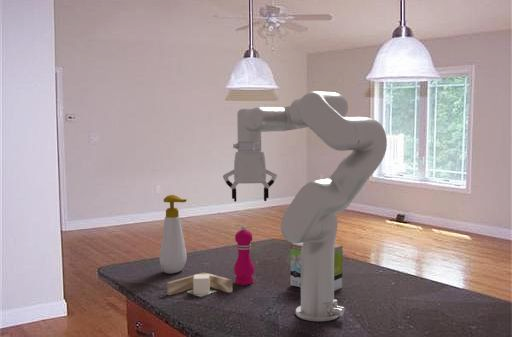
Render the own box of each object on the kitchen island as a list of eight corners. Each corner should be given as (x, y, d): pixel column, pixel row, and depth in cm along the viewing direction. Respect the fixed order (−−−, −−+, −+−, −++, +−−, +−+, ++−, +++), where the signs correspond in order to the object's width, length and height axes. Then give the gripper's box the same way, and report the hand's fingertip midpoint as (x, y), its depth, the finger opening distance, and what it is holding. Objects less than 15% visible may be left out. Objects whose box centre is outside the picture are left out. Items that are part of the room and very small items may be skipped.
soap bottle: (177, 278, 194) (175, 197, 192) (154, 274, 199) (151, 196, 196) (196, 269, 205) (195, 193, 203) (174, 266, 210) (172, 192, 208)
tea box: (289, 286, 183) (289, 243, 182) (307, 279, 190) (307, 238, 189) (325, 295, 173) (325, 249, 171) (343, 288, 180) (343, 244, 179)
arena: (232, 291, 177) (232, 279, 177) (195, 303, 166) (195, 291, 165) (204, 283, 187) (203, 272, 186) (167, 294, 175) (166, 282, 175)
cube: (209, 293, 175) (208, 278, 174) (193, 293, 175) (193, 278, 174) (209, 288, 180) (209, 274, 179) (194, 289, 180) (194, 274, 179)
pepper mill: (252, 286, 183) (251, 227, 182) (231, 285, 185) (230, 227, 183) (256, 280, 190) (255, 224, 189) (236, 279, 192) (235, 223, 190)
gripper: (222, 148, 168) (223, 202, 169) (277, 147, 168) (278, 202, 170) (222, 147, 175) (223, 199, 177) (275, 146, 176) (276, 198, 177)
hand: (250, 200), depth 173 cm, fingers open, 9 cm apart
